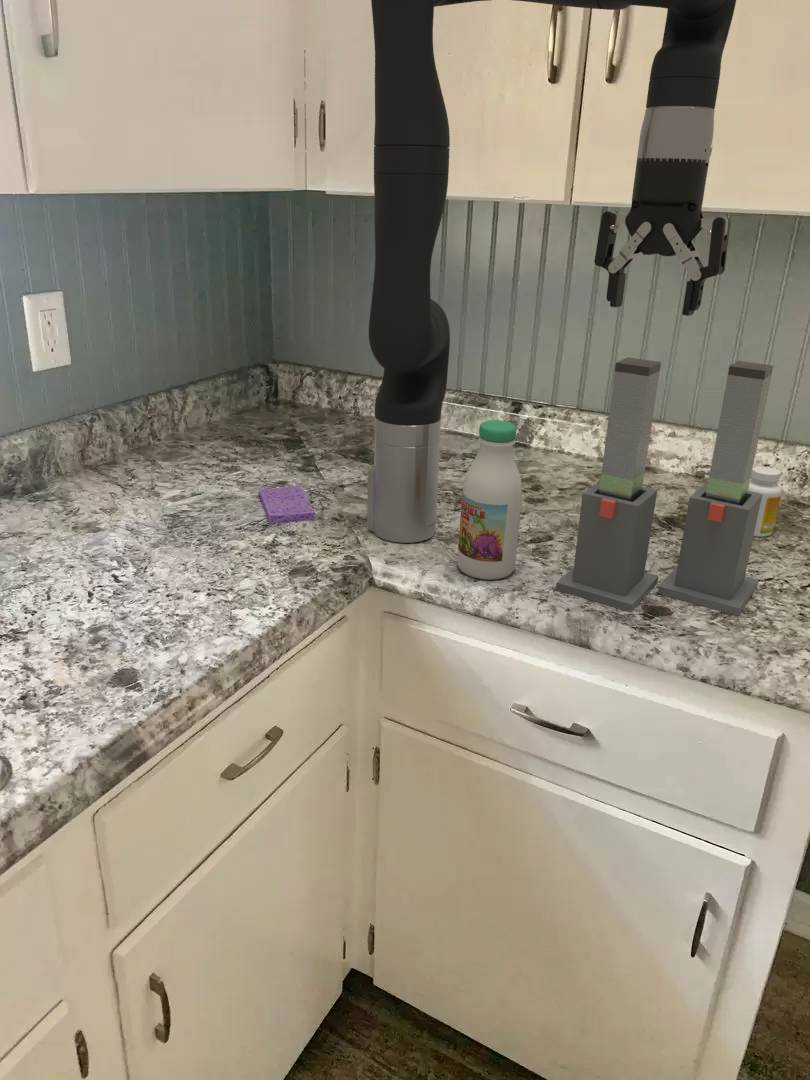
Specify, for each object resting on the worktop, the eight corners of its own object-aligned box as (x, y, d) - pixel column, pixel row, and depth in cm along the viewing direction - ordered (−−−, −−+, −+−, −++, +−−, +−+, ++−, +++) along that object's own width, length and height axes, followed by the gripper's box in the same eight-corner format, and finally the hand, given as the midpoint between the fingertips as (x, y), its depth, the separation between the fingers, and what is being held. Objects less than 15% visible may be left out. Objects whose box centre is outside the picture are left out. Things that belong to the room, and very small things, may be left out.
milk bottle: (484, 550, 117) (496, 411, 109) (526, 570, 112) (542, 426, 104) (444, 565, 112) (454, 422, 104) (486, 587, 107) (500, 438, 99)
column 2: (697, 540, 105) (729, 366, 96) (706, 530, 108) (737, 360, 99) (730, 547, 103) (765, 371, 94) (738, 537, 106) (773, 365, 97)
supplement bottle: (770, 526, 129) (783, 466, 126) (774, 539, 125) (788, 477, 121) (733, 522, 131) (745, 462, 127) (736, 534, 126) (748, 473, 122)
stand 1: (555, 589, 107) (566, 494, 102) (586, 563, 115) (597, 473, 110) (631, 611, 102) (646, 512, 97) (657, 582, 110) (673, 489, 105)
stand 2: (657, 593, 107) (673, 497, 102) (681, 566, 115) (697, 476, 110) (738, 615, 102) (759, 516, 97) (757, 586, 110) (777, 493, 105)
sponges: (269, 526, 125) (268, 515, 124) (258, 497, 136) (258, 486, 135) (315, 523, 127) (315, 511, 126) (301, 494, 138) (301, 484, 137)
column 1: (593, 536, 105) (615, 362, 97) (605, 526, 108) (627, 357, 100) (624, 544, 103) (649, 367, 94) (635, 534, 106) (661, 362, 98)
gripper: (597, 154, 91) (580, 307, 97) (731, 155, 84) (703, 321, 90) (622, 156, 97) (605, 301, 103) (750, 158, 89) (723, 314, 96)
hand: (651, 310), depth 97 cm, fingers open, 8 cm apart
